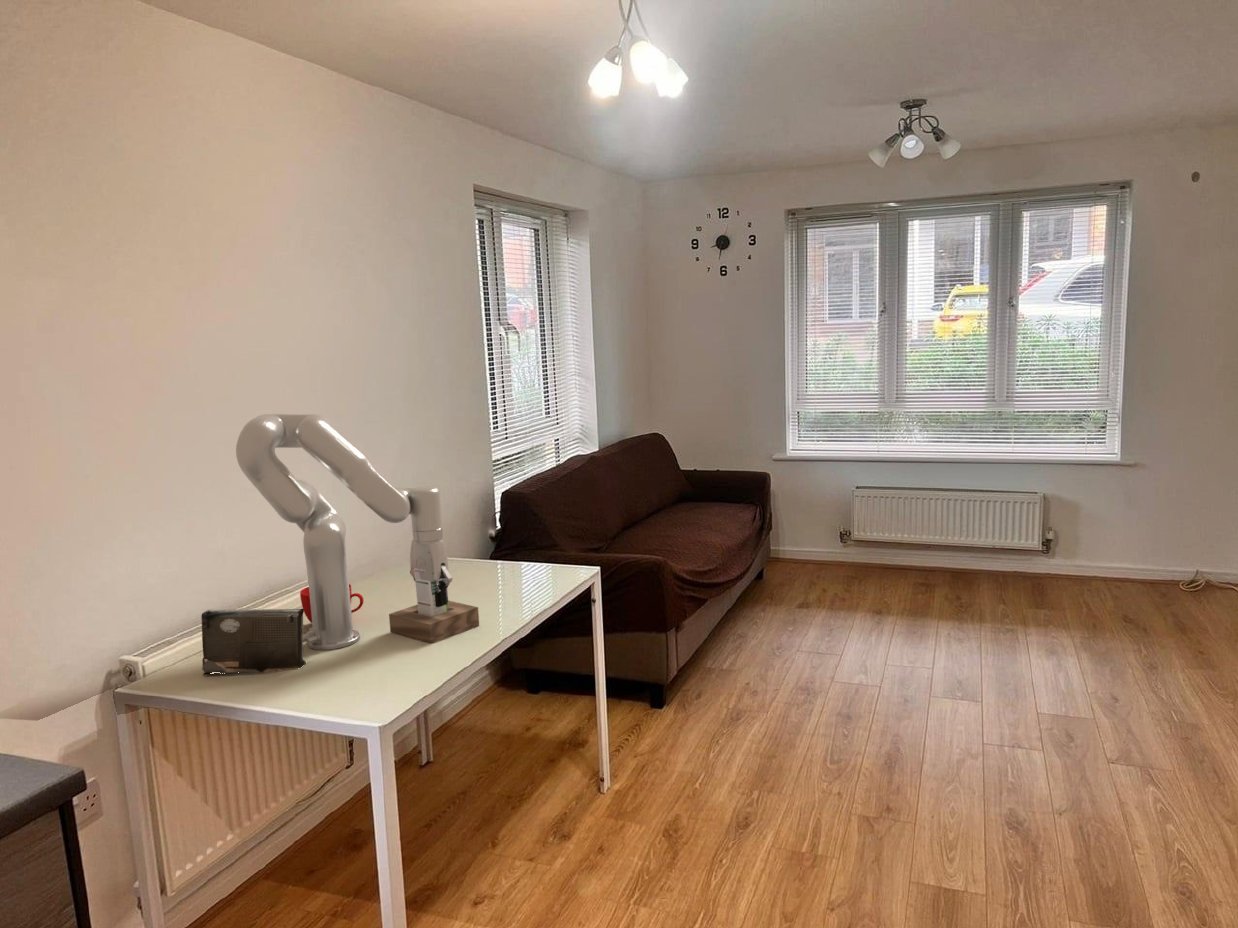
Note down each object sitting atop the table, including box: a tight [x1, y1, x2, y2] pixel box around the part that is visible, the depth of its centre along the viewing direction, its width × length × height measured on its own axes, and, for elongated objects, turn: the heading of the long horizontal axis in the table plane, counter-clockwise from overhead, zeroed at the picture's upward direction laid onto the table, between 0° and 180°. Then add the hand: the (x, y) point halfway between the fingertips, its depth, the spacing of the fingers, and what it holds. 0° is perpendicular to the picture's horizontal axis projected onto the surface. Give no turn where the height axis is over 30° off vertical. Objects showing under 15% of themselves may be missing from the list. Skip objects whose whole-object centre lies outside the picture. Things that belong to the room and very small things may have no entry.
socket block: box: [388, 599, 480, 645], centre depth 226 cm, size 16×16×5 cm
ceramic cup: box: [299, 583, 364, 624], centre depth 232 cm, size 13×17×10 cm
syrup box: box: [414, 568, 449, 617], centre depth 225 cm, size 6×6×14 cm
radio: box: [201, 608, 308, 676], centre depth 202 cm, size 23×9×15 cm, turn 89°
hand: (432, 603), depth 225 cm, fingers closed on syrup box, 5 cm apart
